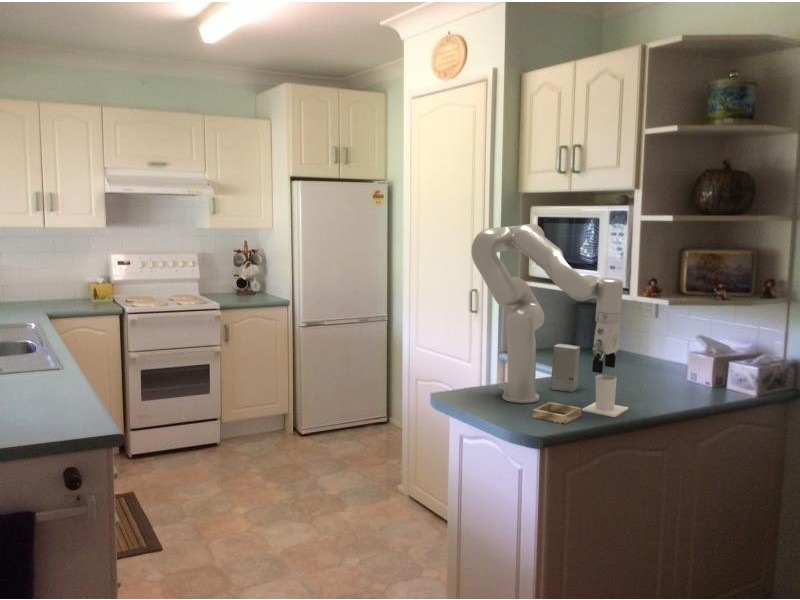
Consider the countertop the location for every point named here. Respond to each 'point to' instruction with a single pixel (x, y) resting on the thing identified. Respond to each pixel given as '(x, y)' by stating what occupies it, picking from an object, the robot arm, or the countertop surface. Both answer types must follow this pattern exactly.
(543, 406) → the wooden frame
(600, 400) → the drinking glass
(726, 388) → the countertop surface
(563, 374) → the skincare box
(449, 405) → the countertop surface
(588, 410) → the coaster
